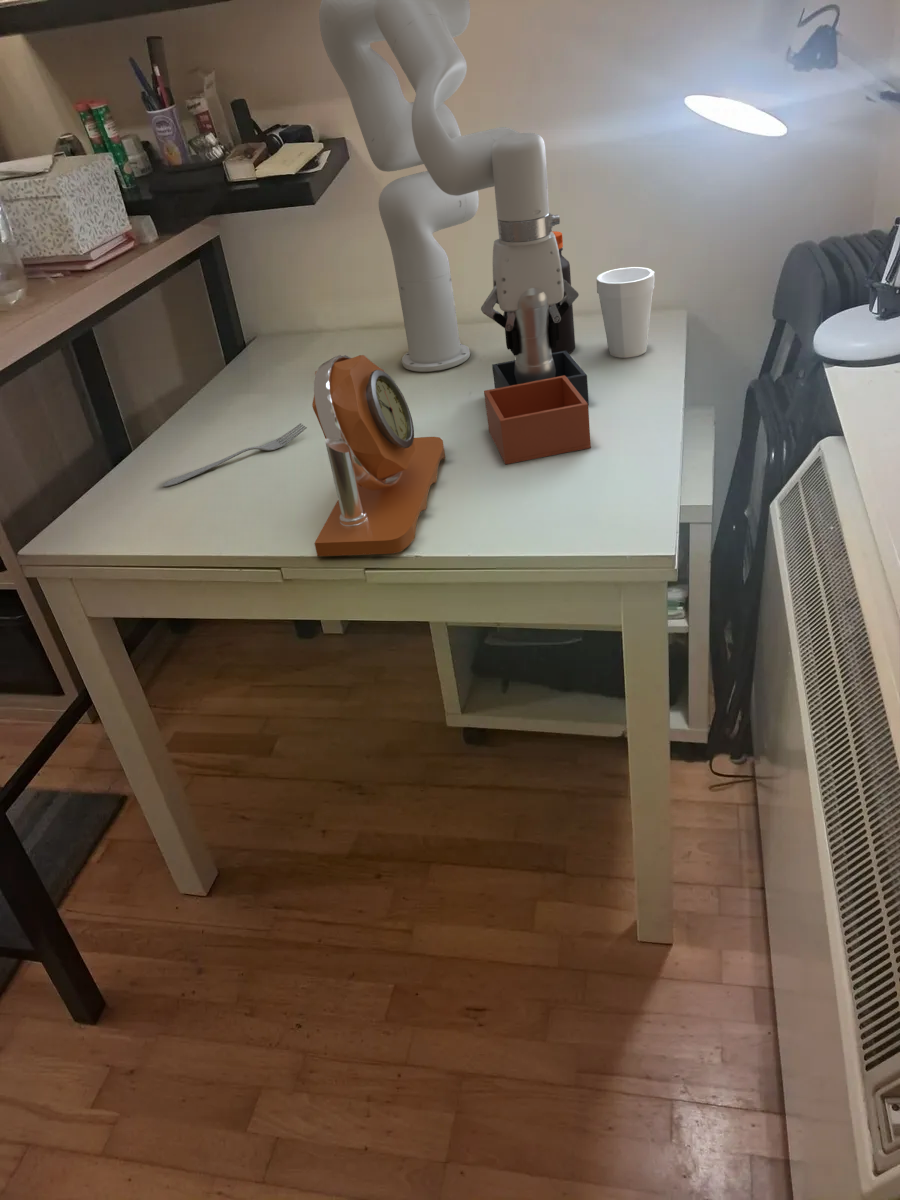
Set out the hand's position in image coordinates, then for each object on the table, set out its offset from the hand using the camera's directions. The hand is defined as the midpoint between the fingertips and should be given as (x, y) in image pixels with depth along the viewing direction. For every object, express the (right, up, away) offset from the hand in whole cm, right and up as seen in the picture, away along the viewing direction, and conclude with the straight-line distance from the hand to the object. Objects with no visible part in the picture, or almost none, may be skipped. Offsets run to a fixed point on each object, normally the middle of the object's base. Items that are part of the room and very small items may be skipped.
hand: (533, 348), depth 146 cm
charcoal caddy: (+1, -7, +4) cm, 8 cm away
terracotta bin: (0, -16, -9) cm, 18 cm away
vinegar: (+6, +5, +22) cm, 24 cm away
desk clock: (-21, -26, -19) cm, 38 cm away
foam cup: (+18, +4, +17) cm, 25 cm away
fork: (-46, -18, 0) cm, 49 cm away
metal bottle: (+1, -5, +4) cm, 7 cm away
